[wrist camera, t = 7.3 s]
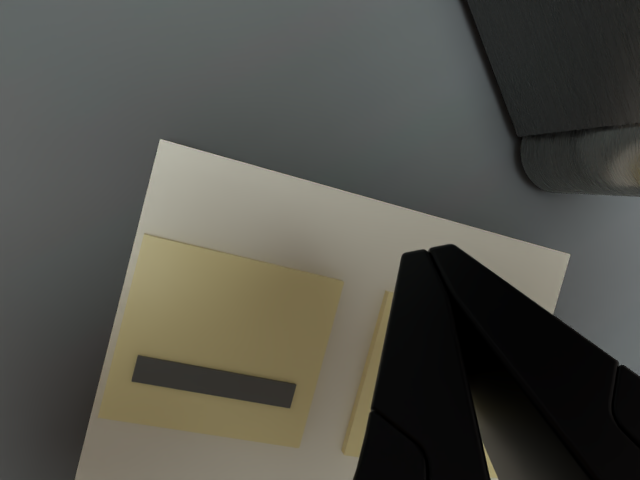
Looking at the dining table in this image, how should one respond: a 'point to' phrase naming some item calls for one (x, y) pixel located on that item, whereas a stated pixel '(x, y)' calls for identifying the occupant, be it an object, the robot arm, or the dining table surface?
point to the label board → (263, 322)
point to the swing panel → (569, 88)
